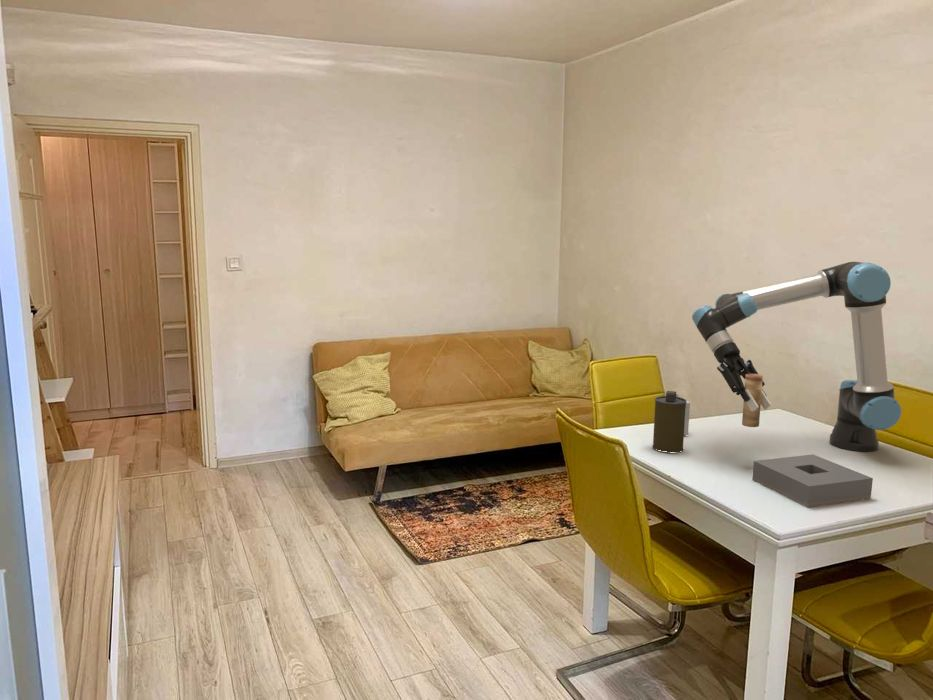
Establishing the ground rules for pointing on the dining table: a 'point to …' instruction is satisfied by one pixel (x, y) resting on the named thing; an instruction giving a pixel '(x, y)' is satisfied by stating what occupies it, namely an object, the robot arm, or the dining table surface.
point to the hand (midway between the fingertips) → (761, 408)
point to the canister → (669, 422)
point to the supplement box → (686, 418)
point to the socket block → (812, 480)
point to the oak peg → (755, 388)
